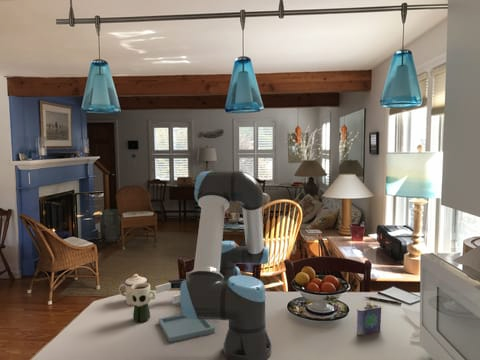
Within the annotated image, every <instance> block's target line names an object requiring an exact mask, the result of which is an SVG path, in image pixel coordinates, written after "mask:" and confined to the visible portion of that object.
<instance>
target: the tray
mask: <svg viewBox="0 0 480 360" xmlns="http://www.w3.org/2000/svg"><path fill="white" fill-rule="evenodd" d="M158 324H159V327H160V329H161V330H162V332H163V334H164V337H166V339H167V341H168V343H169V344H171V343H176V342H180V341H185V340H189V339H193V338H199V337H204V336H207V335H210V334H212V335H213V334H215V333H216V331H215V330H216V329H215V327H214V325H213V324H212V323H211V322H210V320H207V319H199V320H197V319H190V318H186V317H185V316H184V314H183V313H180V314H176V315H169V316H164V317H160V318H158Z"/></svg>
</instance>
